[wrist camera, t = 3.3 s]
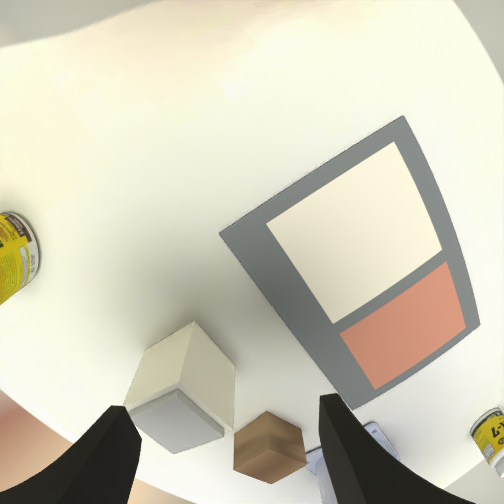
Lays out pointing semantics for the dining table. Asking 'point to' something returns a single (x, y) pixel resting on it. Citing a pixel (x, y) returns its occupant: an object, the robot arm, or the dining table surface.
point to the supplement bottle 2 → (491, 438)
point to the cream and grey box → (183, 391)
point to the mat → (363, 264)
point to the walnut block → (269, 449)
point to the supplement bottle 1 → (16, 255)
